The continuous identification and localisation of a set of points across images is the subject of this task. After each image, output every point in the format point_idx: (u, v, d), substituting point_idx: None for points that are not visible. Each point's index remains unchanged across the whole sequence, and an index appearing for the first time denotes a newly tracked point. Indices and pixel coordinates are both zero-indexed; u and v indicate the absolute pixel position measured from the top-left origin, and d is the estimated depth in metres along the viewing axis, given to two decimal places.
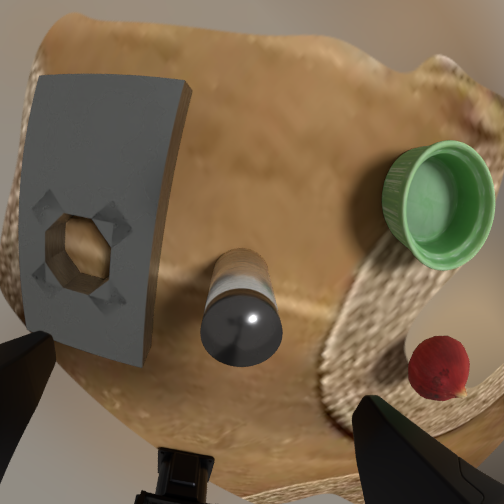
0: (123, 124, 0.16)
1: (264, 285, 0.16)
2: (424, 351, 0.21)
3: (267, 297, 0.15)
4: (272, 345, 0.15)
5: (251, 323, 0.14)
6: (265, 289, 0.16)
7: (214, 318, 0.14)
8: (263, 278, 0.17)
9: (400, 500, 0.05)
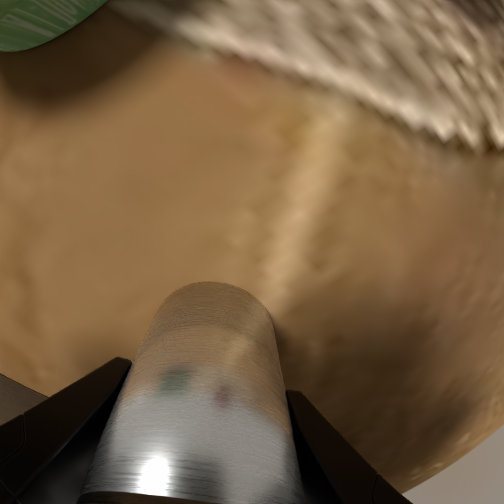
0: None
1: (102, 437, 0.04)
2: None
3: (82, 493, 0.03)
4: None
5: None
6: (95, 457, 0.04)
7: None
8: (118, 400, 0.05)
9: None
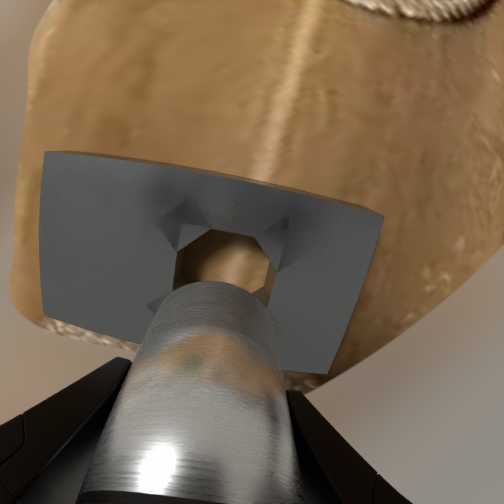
0: (80, 210, 0.15)
1: (102, 436, 0.04)
2: None
3: (82, 492, 0.03)
4: None
5: None
6: (94, 456, 0.04)
7: None
8: (117, 399, 0.05)
9: None
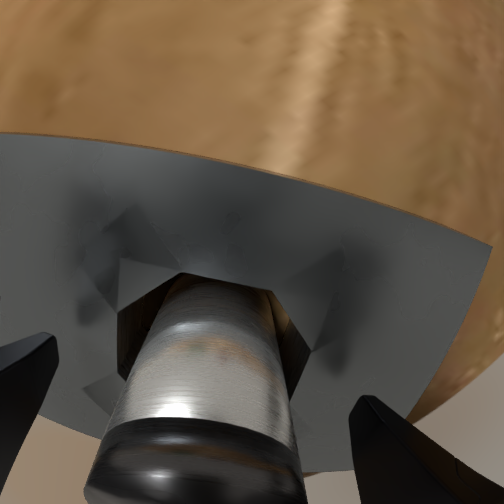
0: None
1: (125, 386, 0.05)
2: None
3: (109, 430, 0.04)
4: (227, 497, 0.03)
5: None
6: (119, 402, 0.05)
7: None
8: (138, 358, 0.06)
9: (396, 501, 0.04)
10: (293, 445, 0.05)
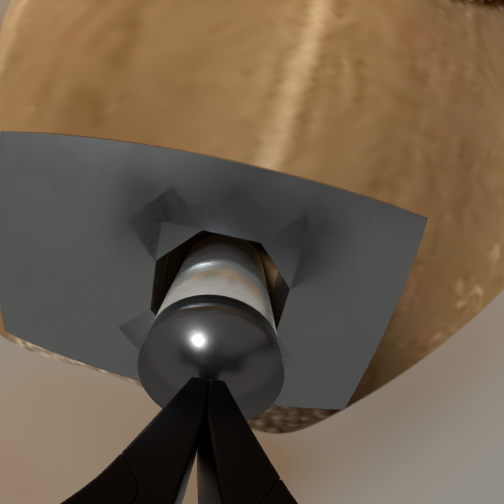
0: (36, 204, 0.11)
1: (166, 296, 0.10)
2: None
3: (158, 313, 0.08)
4: (232, 332, 0.07)
5: (182, 365, 0.07)
6: (163, 303, 0.09)
7: None
8: (173, 283, 0.11)
9: None
10: (272, 325, 0.09)
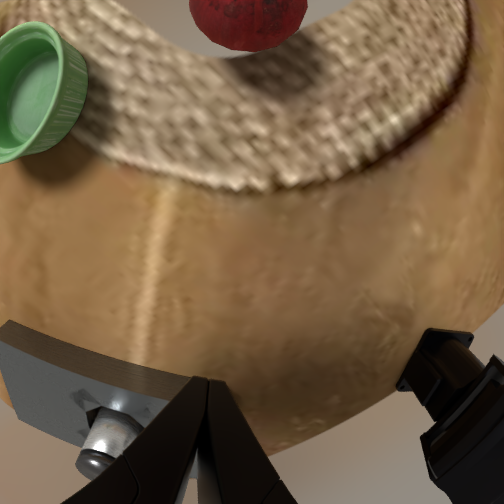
0: (23, 377, 0.18)
1: None
2: (208, 37, 0.12)
3: None
4: (100, 467, 0.15)
5: (90, 470, 0.15)
6: None
7: None
8: None
9: None
10: None
